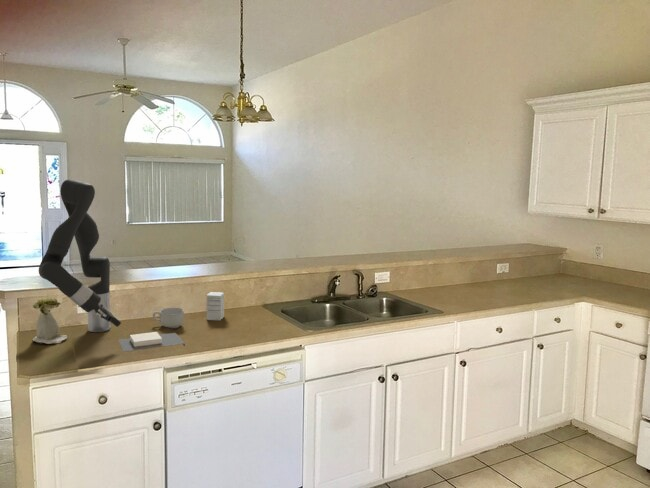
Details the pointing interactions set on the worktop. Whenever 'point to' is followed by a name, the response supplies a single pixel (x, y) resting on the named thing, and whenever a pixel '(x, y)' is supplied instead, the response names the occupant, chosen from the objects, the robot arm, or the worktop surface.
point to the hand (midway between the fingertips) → (119, 324)
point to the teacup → (170, 317)
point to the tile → (146, 339)
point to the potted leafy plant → (47, 322)
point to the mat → (166, 341)
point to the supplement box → (215, 306)
